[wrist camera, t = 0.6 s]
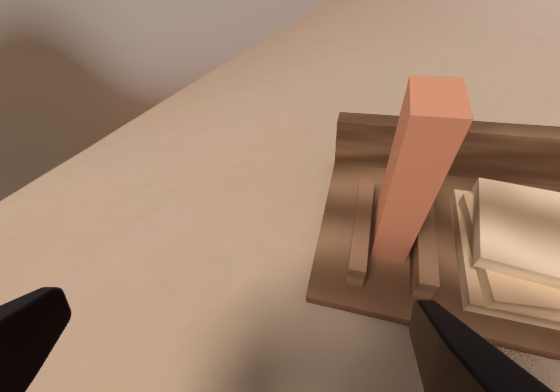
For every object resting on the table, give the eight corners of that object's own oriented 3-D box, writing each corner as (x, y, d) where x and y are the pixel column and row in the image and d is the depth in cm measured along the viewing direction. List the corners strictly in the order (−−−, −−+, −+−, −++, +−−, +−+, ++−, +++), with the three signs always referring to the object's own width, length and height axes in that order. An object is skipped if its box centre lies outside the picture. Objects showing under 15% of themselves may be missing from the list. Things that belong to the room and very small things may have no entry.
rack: (638, 378, 17) (755, 355, 13) (306, 301, 22) (303, 265, 17) (554, 182, 27) (602, 129, 22) (336, 159, 32) (339, 111, 27)
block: (404, 263, 22) (473, 119, 12) (370, 256, 23) (410, 115, 13) (404, 225, 24) (463, 77, 14) (373, 221, 25) (409, 75, 15)
